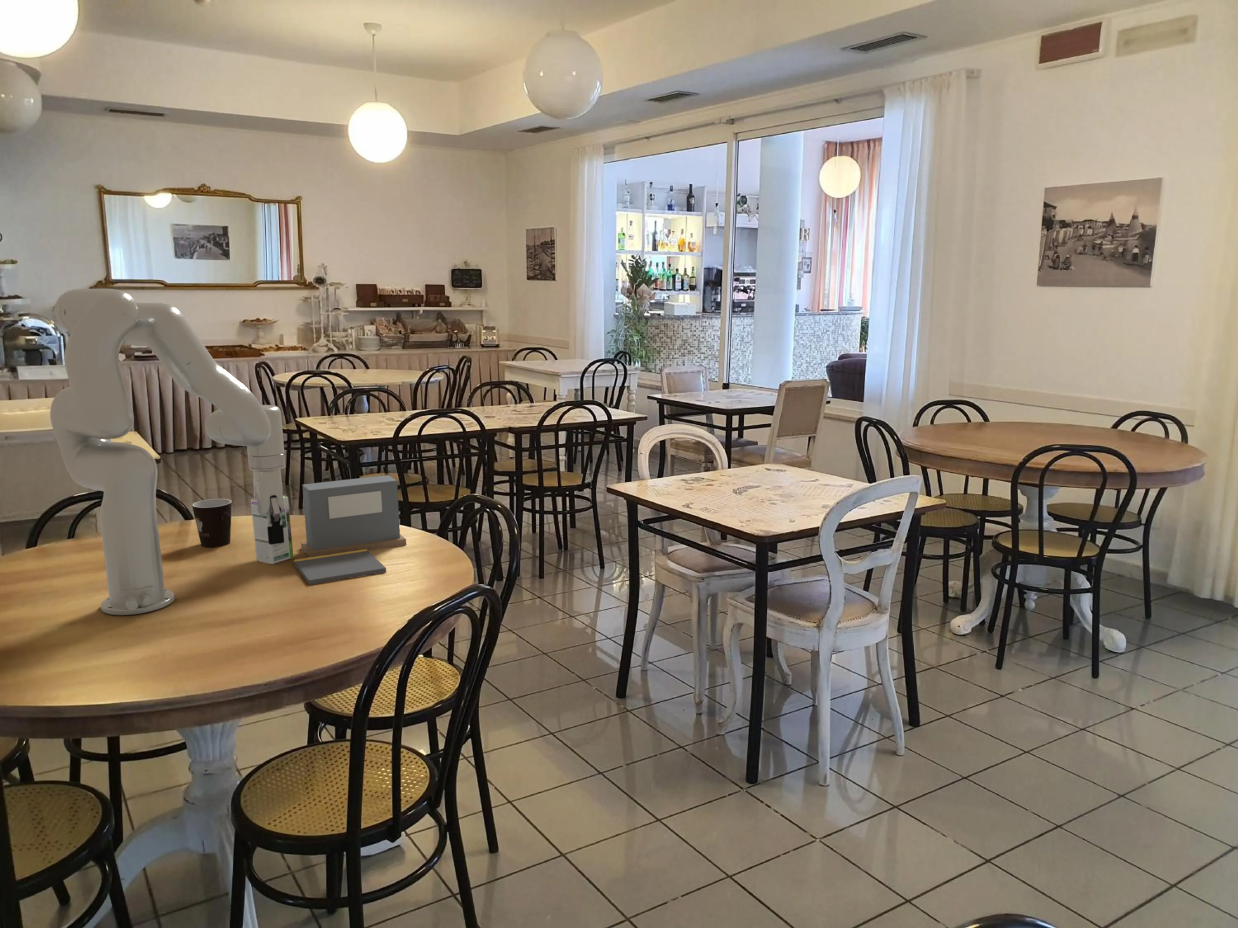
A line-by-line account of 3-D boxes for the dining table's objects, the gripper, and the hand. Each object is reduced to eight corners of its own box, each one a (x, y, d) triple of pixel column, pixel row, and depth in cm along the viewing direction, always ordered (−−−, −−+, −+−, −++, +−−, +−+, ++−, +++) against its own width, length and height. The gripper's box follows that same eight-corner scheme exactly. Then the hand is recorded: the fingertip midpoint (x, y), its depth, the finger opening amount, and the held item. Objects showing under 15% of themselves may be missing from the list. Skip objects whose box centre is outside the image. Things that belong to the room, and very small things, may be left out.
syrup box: (272, 564, 199) (267, 501, 196) (255, 560, 202) (250, 497, 199) (293, 558, 204) (289, 495, 201) (276, 554, 207) (271, 492, 204)
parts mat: (386, 572, 194) (386, 567, 194) (309, 584, 186) (309, 579, 186) (366, 553, 207) (366, 548, 207) (293, 564, 199) (293, 559, 199)
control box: (406, 544, 214) (403, 481, 211) (310, 559, 203) (305, 492, 200) (394, 534, 222) (390, 473, 219) (301, 548, 212) (296, 483, 208)
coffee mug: (195, 541, 218) (191, 501, 216) (234, 537, 221) (231, 497, 219) (196, 554, 207) (191, 512, 205) (236, 549, 211) (232, 508, 209)
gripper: (242, 456, 204) (249, 532, 208) (255, 470, 189) (262, 551, 193) (277, 453, 208) (283, 527, 211) (292, 466, 193) (298, 546, 197)
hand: (273, 538), depth 202 cm, fingers closed on syrup box, 7 cm apart
